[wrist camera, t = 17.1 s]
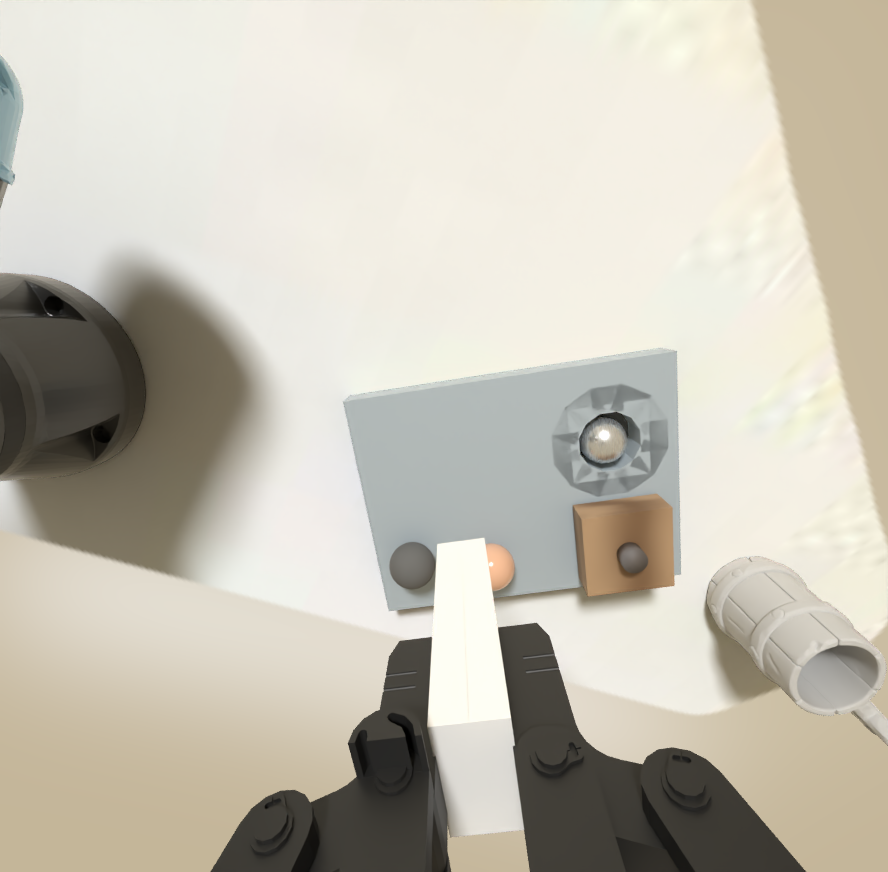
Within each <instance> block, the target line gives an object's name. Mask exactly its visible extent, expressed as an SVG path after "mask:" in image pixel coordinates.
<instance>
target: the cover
mask: <svg viewBox="0 0 888 872" xmlns="http://www.w3.org/2000/svg"><path fill="white" fill-rule="evenodd" d="M573 516H574V527H575V539H576V550H577V562H578V573H579V579H580V581H581V583H582V585H583V587H584V589H585V592H586V594H587V596H596V595H604V594H612V593H620V592H628V591H636V590H644V589H652V588H660V587H668V586H674V547H673V507H672V506H670V505H669V504H668V503H667V502H666V501H665V500H664V499H663V498H662V497H660V496H659V495H658V494H650V495H643V496H635V497H628V498H621V499H613V500H606V501H598V502H591V503H584V504H576V505H573Z"/></svg>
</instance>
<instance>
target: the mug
mask: <svg viewBox="0 0 888 872" xmlns="http://www.w3.org/2000/svg"><path fill="white" fill-rule="evenodd" d="M712 580H713V581H710V583H709V589H708V595H707V604H708V607H709V609H710V611H711V613H712V616H713V618H714V620H715V622H716V624H717V625H718V627H719V628H720V629H721V630H722V631H723V632H724V633H725V634H726V635H727V636H728V637H730V638H732V639H733V640H735V641H736V642H738V643H740V645H741V646H742V647H743V648H744V649H745V650H746V651H747V652H748V653H749V654H750V655H751V656H752V659H753V661H754V663H755V664H756V666H757V667H758V668H759V670H760V671H761V672H762V673H763V674H764V675H765V676H766V677H767V678H768V679H770V680H771V681H773V682H774V683H776V684H778V685H779V686H780V687H781V688H782V689H783V690H784V691H785V693H786V694H787V695H788V696H789V697H790V698H791V699H792V700H793V701H794V702H795V703H796V704H797V705H798V706H800V707H801V708H802V709H804V710H805V711H807V712H810V713H813V714H817V715H823V716H832V715H834V713H836V714H839V715H840V714H846V713H849V712H851V713H852V714H853V715H854V716H855V717H857V718H858V719H859V720H860V721H861V722H862V723H863V724H864V725H865V726H866V727H867V728H868V729H869V730H870V731H871V732H872V733H874V734H875V735H877V736H878V737H880V739H882V740H883V742H885V743H886V744H887V745H888V719H887V718H886V717H885V716H884V715H883V714H882V713H881V712H880V711H879V710H878V709H877V707H876V706H875V705H874V704H873V703H872V702H871V701H869V700H871V699H872V697H873V696H874V695H875V694H876V693H877V691H876V690H880V689H881V686H882V685H883V682H884V678H885V674H886V662H885V659H884V657H883V655H882V654H881V653H880V651H879V650H878V649H877V648H876V647H875V646H874V645H873V644H872V643H871V642H869V641H868V640H867V639H866V638H865V637H864V636H862V635H861V634H860V633H859V632H858V631H856V630H855V629H854V627H853V625H852V623H851V622H850V621H849V619H848V618H847V617H846V616H845V615H843V614H842V613H841V612H840V611H838V610H837V609H836V608H834V607H833V606H832V605H831V604H829V603H827V602H824V601H821V600H820V599H819V598H818V597H817V596H816V595H815V594H813V593H812V592H811V591H810V590H809V589H808V588H807V586H806V584H805V582H804V581H803V579H802V578H801V577H800V576H799V575H798V574H797V573H795V572H794V571H793V570H791V569H790V568H788V567H787V566H785V565H783V564H780V563H777V562H774V561H772V560H770V559H767V558H764V557H759V556H754V557H750V558H749V559H747V558H746V557H743V558H739V559H736V560H734V561H732V562H730V563H728V564H727V565H725V566H723V567H722V568H721V569H720V570H719V571H718V572H717V573H716V574H715V575H714V577H713V578H712Z"/></svg>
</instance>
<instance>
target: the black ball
mask: <svg viewBox="0 0 888 872" xmlns="http://www.w3.org/2000/svg"><path fill="white" fill-rule="evenodd" d="M389 569H390V574H391V576H392V578H393V580H394V581H395V582H396V583H397V584H398V585H399V586H401V587H403V588H406V589H418V588H421V587H423V586H425V585H426V584H427V583H428V582H429V581H430V580H431V578H432V576H433V574H434V571H435V560H434V556H433V554H432V553H431V551H430V550H429V549H428V548H427V547H426V546H425V545H423V544H421V543H418V542H408V543H405V544H402V545H401V546H399V547H398V548H397V549H396V550H395V551H394V553H393V554H392V556H391V559H390V564H389Z"/></svg>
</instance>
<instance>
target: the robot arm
mask: <svg viewBox="0 0 888 872" xmlns="http://www.w3.org/2000/svg"><path fill="white" fill-rule="evenodd" d="M22 113H23V95H22V91H21V88H20V85H19V82H18V80H17V78H16V76H15V74H14V73H13V71H12V69H11V68H10V66H9V65H8V63H7V62H6V61H5V59H4V58H3V57H2V56H1V55H0V208H1V204H2V201H3V198H4V195H5V192H6V188H7V185H8V184H11V185H12V184H13V182H14V179H15V174H14V173H13V172H12V170H11V168H12V162H13V157H14V151H15V146H16V141H17V135H18V130H19V126H20V122H21V117H22ZM144 407H145V382H144V376H143V371H142V367H141V364H140V361H139V358H138V355H137V353H136V351H135V349H134V347H133V345H132V343H131V341H130V339H129V338H128V336H127V334H126V333H125V332H124V330H123V329H122V327H121V326H120V325H119V323H118V322H117V321H116V320H115V319H114V318H113V316H112V315H111V314H110V313H109V312H108V311H107V310H106V309H105V308H103V307H102V306H101V305H100V304H99V303H98V302H96V301H95V300H94V299H92V298H91V297H90V296H88V295H87V294H85V293H83V292H82V291H80V290H78V289H76V288H74V287H72V286H70V285H68V284H66V283H63V282H61V281H58V280H55V279H51V278H48V277H43V276H37V275H26V274H13V273H0V481H7V480H22V479H37V478H52V477H61V476H67V475H71V474H75V473H78V472H81V471H84V470H86V469H89V468H91V467H93V466H95V465H98V464H100V463H102V462H104V461H107V460H108V459H110V458H112V457H114V456H115V455H116V454H118V453H119V452H120V451H121V450H123V449H124V448H125V447H126V446H127V444H128V443H129V442H130V441H131V439H132V438H133V436H134V435H135V433H136V431H137V429H138V427H139V425H140V422H141V420H142V416H143V412H144ZM348 745H349V749H350V753H351V757H352V760H353V763H354V768H355V771H356V775H357V777H356V778H355V779H354V780H353V781H351V782H350V783H349V784H348V785H346V786H344V787H343V788H341V789H339V790H337V791H336V792H333V793H331V794H329V795H326V796H324V797H322V798H320V799H317V800H315V801H313V802H311V803H310V802H309V800H308V798H307V797H306V796H305V794H302V793H300V792H298V791H295V790H286V791H279V792H277V793H275V794H273V795H270V796H268V797H266V798H265V799H263V800H262V801H261V802H260V803H258V804H257V805H256V806H254V807H253V808H252V809H251V810H250V812H249V813H248V814H247V815H246V817H245V818H244V819H243V821H242V822H241V823H240V824H239V826H238V828H237V829H236V831H235V833H234V834H233V836H232V838H231V839H230V841H229V842H228V844H227V846H226V848H225V849H224V851H223V852H222V854H221V856H220V857H219V859H218V861H217V863H216V864H215V865H214V867H213V869H212V870H211V872H451V868H450V863H449V857H448V852H447V824H448V829H449V833H450V837H459V836H469V835H480V834H489V833H499V832H510V831H521V830H524V832H525V839H526V846H527V853H528V861H529V868H530V872H806V871H805V870H804V869H803V868H802V867H801V865H800V864H799V863H798V862H797V861H796V859H795V858H794V857H793V856H792V855H791V854H790V853H789V851H788V850H787V849H786V848H785V847H784V845H783V844H782V843H781V842H780V841H779V840H778V838H777V837H775V835H774V834H773V833H772V832H771V830H770V829H769V828H768V827H767V826H766V825H765V823H764V822H763V821H762V820H761V819H760V817H759V816H758V815H757V814H756V813H755V812H754V810H753V809H752V808H751V807H750V806H749V805H748V804H747V802H746V801H745V800H744V799H743V798H742V797H741V795H740V794H739V793H738V792H737V791H736V789H735V788H734V787H733V786H732V785H731V784H730V783H729V781H728V780H727V779H726V778H725V777H724V775H722V773H721V772H720V771H719V770H718V769H717V768H715V767H714V766H713V765H712V764H711V763H710V762H709V761H708V760H706V759H704V758H703V757H701V756H699V755H697V754H695V753H693V752H691V751H688V750H682V749H677V748H666V749H659V750H656V751H655V752H653V753H652V754H651V755H649V756H647V757H646V760H645V761H644V763H643V764H638V763H633V762H628V761H624V760H619V759H616V758H613V757H609V756H607V755H605V754H603V753H601V752H599V751H598V750H596V749H595V748H593V747H592V746H591V745H590V744H589V743H588V742H586V740H585V739H584V738H583V736H582V735H581V734H580V732H579V730H578V728H577V726H576V723H575V720H574V716H573V713H572V710H571V706H570V703H569V700H568V697H567V694H566V690H565V687H564V683H563V680H562V677H561V673H560V670H559V667H558V663H557V660H556V657H555V654H554V650H553V647H552V643H551V640H550V637H549V635H548V634H547V633H546V632H545V631H544V630H543V629H542V628H541V627H540V626H539V625H538V624H537V623H532V624H524V625H515V626H507V627H499V628H498V627H497V620H496V613H495V606H494V599H493V593H492V586H491V579H490V572H489V566H488V559H487V552H486V545H485V539H484V538H479V539H471V540H464V541H456V542H449V543H441V544H437V560H436V578H435V596H434V615H433V633H432V637H429V638H421V639H412V640H404V641H399V643H398V644H397V646H396V647H395V649H394V650H393V652H392V653H391V655H390V656H389V661H388V666H387V672H386V678H385V683H384V692H383V695H382V701H381V707H380V710H379V711H376V712H374V713H372V714H371V715H369V716H368V717H366V718H364V719H363V720H362V721H361V722H360V724H359V725H358V726H357V727H356V728H355V730H353V733H352V735H351V737H350V740H349V742H348Z"/></svg>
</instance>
